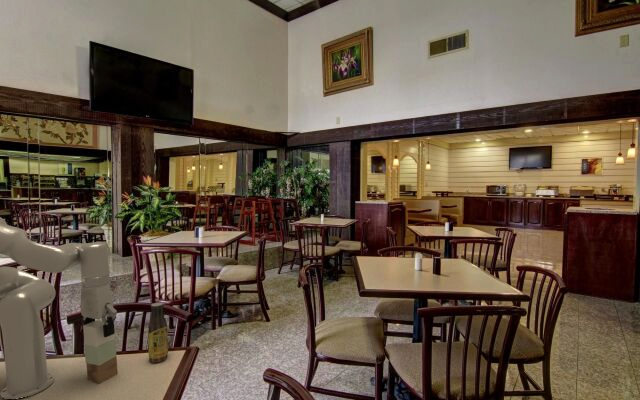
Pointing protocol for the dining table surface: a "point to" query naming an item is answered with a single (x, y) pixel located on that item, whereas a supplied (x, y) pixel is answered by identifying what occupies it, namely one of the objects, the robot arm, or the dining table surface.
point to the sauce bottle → (157, 334)
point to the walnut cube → (102, 371)
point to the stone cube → (95, 334)
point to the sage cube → (100, 353)
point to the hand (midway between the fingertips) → (99, 333)
